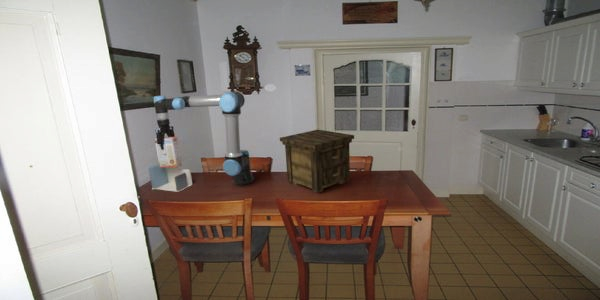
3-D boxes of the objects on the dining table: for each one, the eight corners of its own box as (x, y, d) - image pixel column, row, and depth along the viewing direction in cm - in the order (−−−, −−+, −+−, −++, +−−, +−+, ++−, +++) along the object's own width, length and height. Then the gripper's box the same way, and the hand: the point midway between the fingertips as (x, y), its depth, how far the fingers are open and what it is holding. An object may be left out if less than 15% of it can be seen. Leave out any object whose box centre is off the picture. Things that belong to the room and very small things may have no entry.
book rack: (192, 186, 218) (189, 164, 214) (178, 193, 205) (174, 170, 201) (167, 183, 227) (163, 162, 223) (152, 189, 215) (147, 168, 211)
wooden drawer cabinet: (319, 171, 234) (317, 129, 226) (354, 182, 208) (354, 135, 200) (282, 183, 213) (279, 137, 205) (317, 197, 187) (314, 145, 178)
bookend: (187, 186, 214) (185, 172, 212) (178, 191, 206) (176, 177, 204) (186, 186, 215) (184, 172, 212) (176, 190, 207) (174, 177, 204)
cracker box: (182, 165, 214) (177, 136, 208) (176, 168, 208) (171, 138, 203) (165, 165, 217) (160, 136, 212) (159, 167, 212) (154, 138, 206)
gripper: (169, 116, 214) (174, 148, 220) (146, 121, 197) (152, 155, 203) (178, 116, 211) (182, 149, 217) (155, 121, 194) (161, 156, 200)
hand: (168, 152), depth 210 cm, fingers closed on cracker box, 6 cm apart
